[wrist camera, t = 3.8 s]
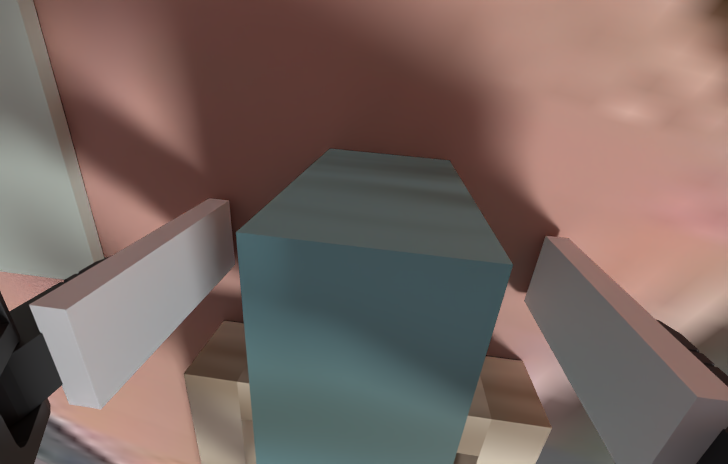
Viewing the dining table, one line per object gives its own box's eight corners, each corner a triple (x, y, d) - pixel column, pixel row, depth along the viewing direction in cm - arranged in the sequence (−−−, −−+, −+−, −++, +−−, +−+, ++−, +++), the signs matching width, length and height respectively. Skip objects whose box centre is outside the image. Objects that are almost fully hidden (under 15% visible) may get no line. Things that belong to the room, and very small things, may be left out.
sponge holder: (201, 135, 12) (-44, 199, 5) (590, 174, 11) (863, 306, 4) (244, 492, 20) (171, 680, 14) (461, 529, 19) (490, 747, 13)
